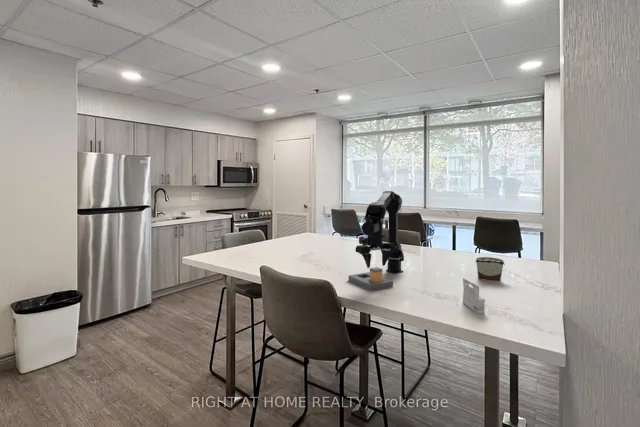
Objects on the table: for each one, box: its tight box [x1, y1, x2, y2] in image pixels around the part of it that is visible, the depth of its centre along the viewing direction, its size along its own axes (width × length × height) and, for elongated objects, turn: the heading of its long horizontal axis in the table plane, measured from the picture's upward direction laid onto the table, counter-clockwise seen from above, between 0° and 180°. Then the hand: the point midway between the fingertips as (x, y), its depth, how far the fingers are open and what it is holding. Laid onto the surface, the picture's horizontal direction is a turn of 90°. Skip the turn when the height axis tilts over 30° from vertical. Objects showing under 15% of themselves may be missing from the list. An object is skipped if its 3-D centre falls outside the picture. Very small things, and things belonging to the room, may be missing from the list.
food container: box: [475, 256, 505, 283], centre depth 158 cm, size 12×6×10 cm, turn 65°
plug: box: [369, 266, 383, 283], centre depth 148 cm, size 4×4×8 cm
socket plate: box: [348, 271, 394, 292], centre depth 152 cm, size 12×18×2 cm, turn 28°
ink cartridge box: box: [462, 278, 486, 314], centre depth 121 cm, size 2×11×10 cm, turn 5°
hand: (376, 266), depth 148 cm, fingers open, 8 cm apart
